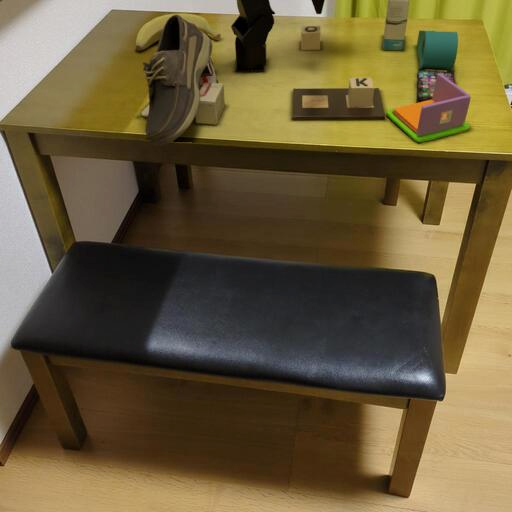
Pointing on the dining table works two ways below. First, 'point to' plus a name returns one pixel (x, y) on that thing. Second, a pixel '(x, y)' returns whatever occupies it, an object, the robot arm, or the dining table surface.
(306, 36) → the tile
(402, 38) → the ink box
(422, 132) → the miniature room corner
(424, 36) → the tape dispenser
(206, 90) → the small box
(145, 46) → the banana
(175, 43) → the boat shoe
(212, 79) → the toy car
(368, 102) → the tile
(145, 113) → the soap
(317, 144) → the dining table surface
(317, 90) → the word board
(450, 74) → the smartphone
